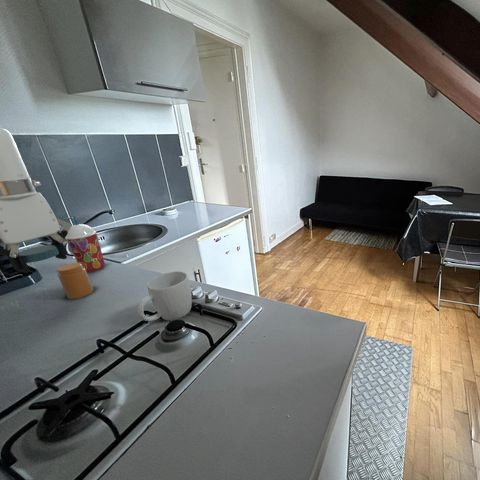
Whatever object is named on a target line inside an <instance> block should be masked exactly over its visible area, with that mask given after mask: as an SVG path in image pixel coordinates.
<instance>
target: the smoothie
mask: <svg viewBox="0 0 480 480" xmlns="http://www.w3.org/2000/svg"><path fill="white" fill-rule="evenodd" d="M72 219H73V221H74V224H72V226H71V228H70V229H69V231H68V234H67V236H66V237H65V239H64V240H66V243H67V245H68V247H69V249H70V251H71V252H72V256H74V257H73V258H74V259H75V260H76V263H81V264H82V265H83V266H82V267H85V269H86V272H87V273H92V272H96V271H100V270H101V269H103V268H104V267H105V259H104V256H103V252H102V248H101V244H100V241H99V238H98V233H97V230H95V229H94V228H93V227H91V226H90V225H88V224H85V223H79V221H78V219H77V217H76V216H72Z"/></svg>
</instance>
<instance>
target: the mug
mask: <svg viewBox="0 0 480 480" xmlns="http://www.w3.org/2000/svg"><path fill="white" fill-rule="evenodd" d="M146 285H147V286H146V287H147V292H148V295H146V296H144V297H143V298H142V299H141V300H140V302H139V303H138V305H137V308H136V313H137V316H138V317H139V318H140V319H141V321H144V322H154V321H157V320H158V319H160V318H161V319H163V320H165V321H175V320H177V319H181V318H182V317H184V316H186V315H188V314H189V313H190V312H191V309H192V305H193V296H192V287H191V283H190V280H189V276H188V274H187V273H186V272H183V271H172V272H171V271H170V272H166V273H162V274H159V275H157V276H155V277H153V278H151V279H149V281H148V282H147V284H146ZM150 301H151V303H152V306H153V307H154V309H155V311H156V314H153V315H150V316H147V315H145V312H144V311H145V307H146V305H147V304H148V303H149V302H150Z"/></svg>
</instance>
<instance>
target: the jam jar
mask: <svg viewBox="0 0 480 480" xmlns="http://www.w3.org/2000/svg"><path fill="white" fill-rule="evenodd" d="M82 266H83V265H82V264H81V263H77V262H72V263H68V264H64V265H62V266H59V267H58V268H57V269H56V272H57V277H58V279H59V282H60V284H61V286H62V289H63V292H64V293H65V295H66V297H67V299H68V300H76V299H80V298H83V297H86V296H88V295H90V294H92V293H93V292H94V287H93V284H92V282H91V279H90V277H89V274H88V272H86V269H85V267H82Z"/></svg>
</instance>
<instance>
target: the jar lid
mask: <svg viewBox="0 0 480 480" xmlns="http://www.w3.org/2000/svg"><path fill="white" fill-rule="evenodd" d="M18 254H19V255H21V256H23V258H24V260H25V262H26V264H30V263H35V262H41V261H45V260H48V259H51V258H54V257H55V256H56V255H58V254H59V250H58V248H57V246H56V245H50V244H45V245H39V246H35V247H31V248H26V249H24V250H21V251H18Z"/></svg>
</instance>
